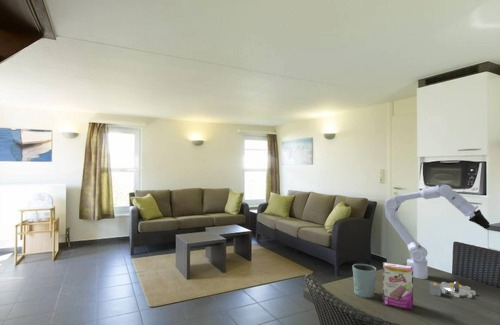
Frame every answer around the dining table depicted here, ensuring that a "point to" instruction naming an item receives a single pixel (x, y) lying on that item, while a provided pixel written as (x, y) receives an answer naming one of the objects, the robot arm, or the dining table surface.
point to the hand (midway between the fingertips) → (488, 226)
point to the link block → (435, 289)
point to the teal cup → (364, 280)
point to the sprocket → (456, 289)
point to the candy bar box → (398, 285)
